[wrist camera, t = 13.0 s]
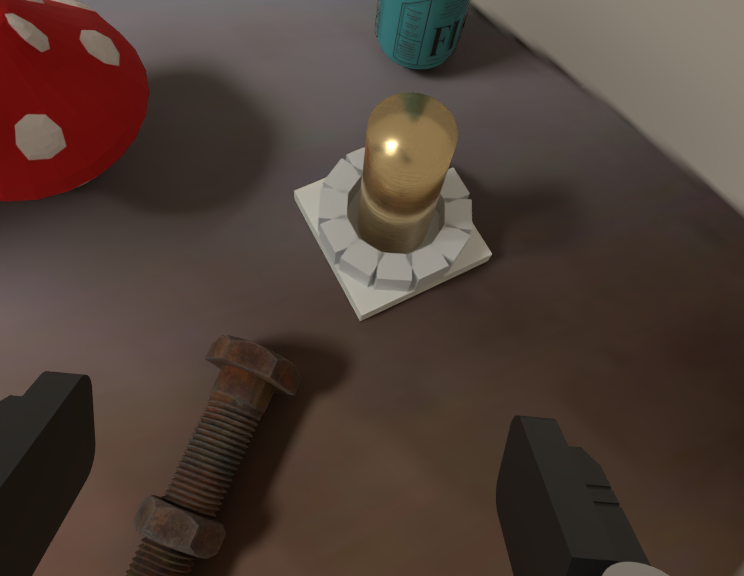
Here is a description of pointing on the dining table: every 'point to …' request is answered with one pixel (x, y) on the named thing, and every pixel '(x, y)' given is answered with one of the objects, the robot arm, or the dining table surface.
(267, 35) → the dining table surface
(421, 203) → the cylinder
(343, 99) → the dining table surface
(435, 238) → the seat block
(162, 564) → the bolt
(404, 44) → the beverage bottle
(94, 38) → the decorative mushroom
